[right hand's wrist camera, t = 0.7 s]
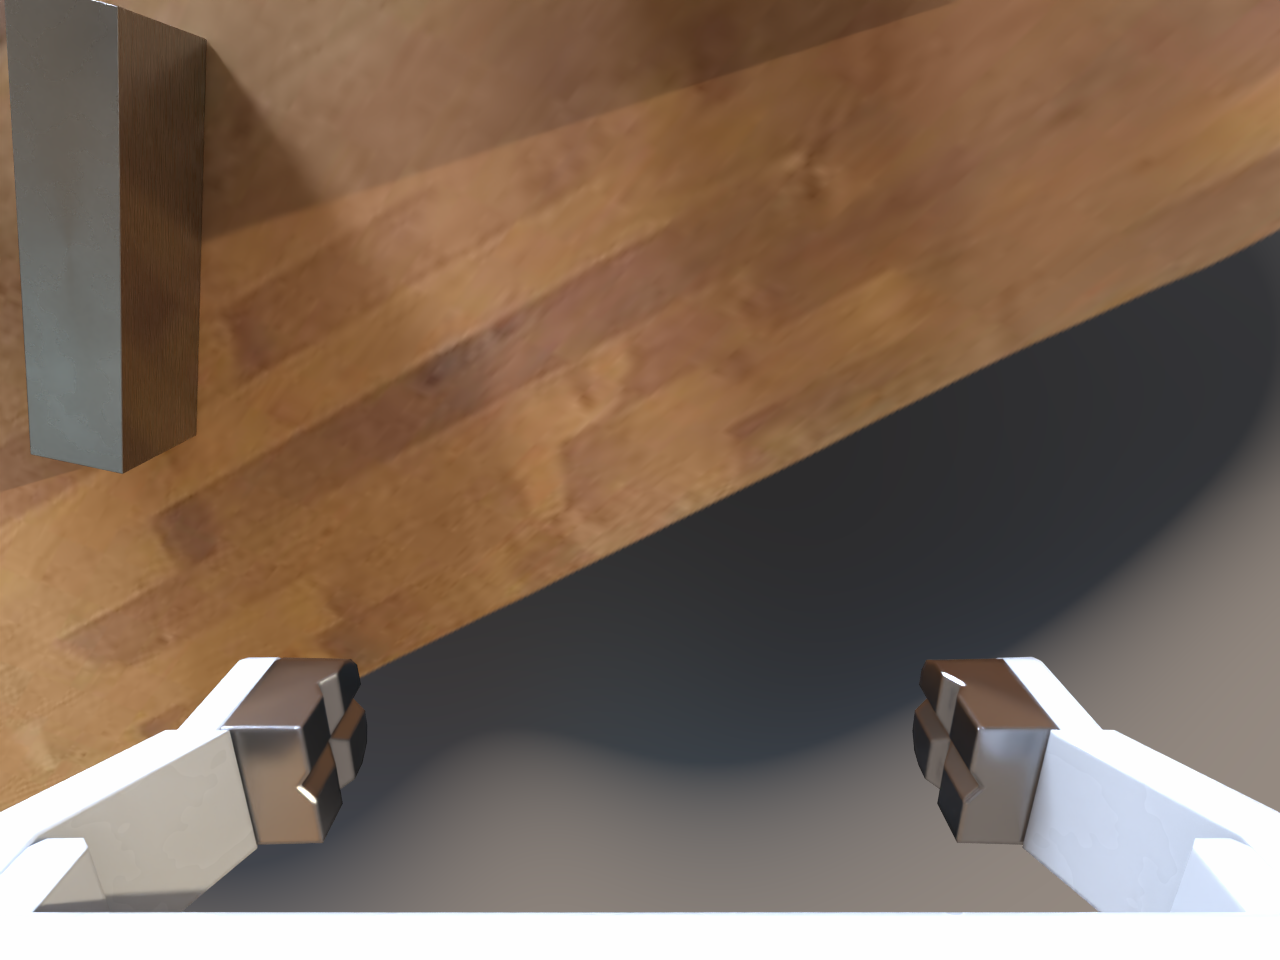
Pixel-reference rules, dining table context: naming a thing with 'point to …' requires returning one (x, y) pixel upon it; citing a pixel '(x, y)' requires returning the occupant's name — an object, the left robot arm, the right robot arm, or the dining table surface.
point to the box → (107, 227)
